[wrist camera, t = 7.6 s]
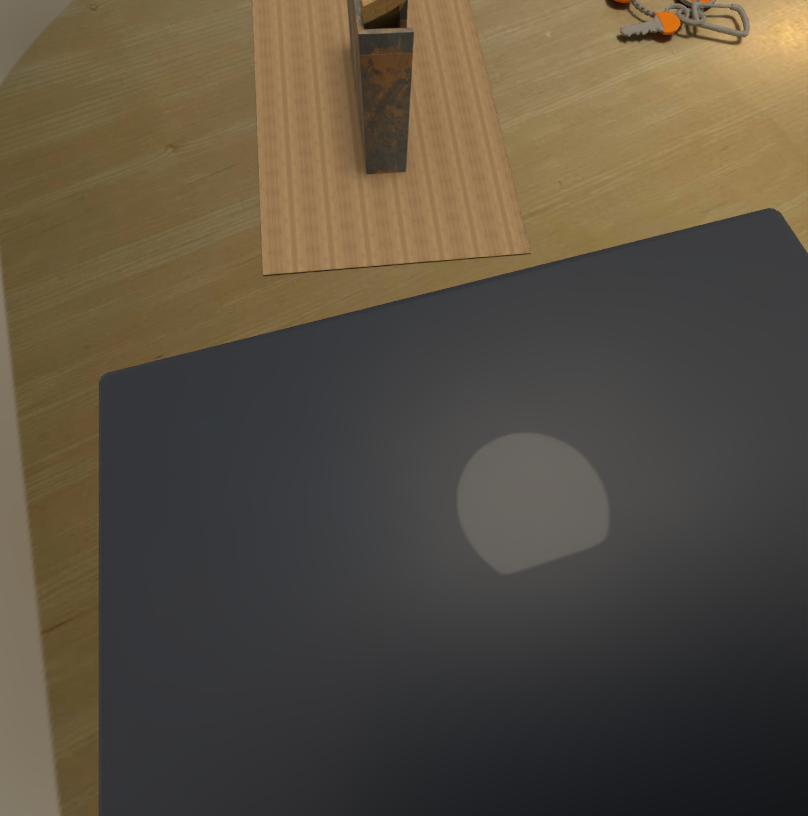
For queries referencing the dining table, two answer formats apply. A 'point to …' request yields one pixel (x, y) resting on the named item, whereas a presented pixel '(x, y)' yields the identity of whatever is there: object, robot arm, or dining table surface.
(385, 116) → the architectural model on board
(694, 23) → the key chain
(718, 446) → the charcoal gray box
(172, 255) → the dining table surface
